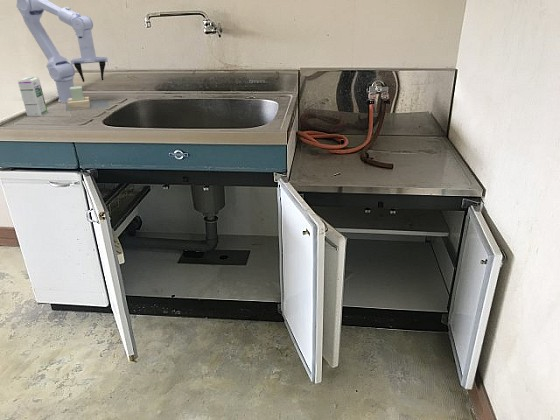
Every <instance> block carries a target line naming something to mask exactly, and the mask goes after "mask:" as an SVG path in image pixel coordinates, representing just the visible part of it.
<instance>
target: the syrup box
mask: <svg viewBox="0 0 560 420" xmlns="http://www.w3.org/2000/svg"><path fill="white" fill-rule="evenodd" d="M17 83H18V88H19V91H20V94H21V98H22V102H23V105H24V109H25V113H26V115H27V117H35V116H36V117H39V116H43V115H45V114H47V113H48V108H47V104H46V100H45V96H44V93H43V88H42V85H41V80H40V77H38V76H29V77H24V78H21V79H20V80H18V81H17Z"/></svg>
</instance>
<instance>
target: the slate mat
mask: <svg viewBox="0 0 560 420" xmlns="http://www.w3.org/2000/svg"><path fill="white" fill-rule="evenodd" d="M89 101H90V108H86V109H85V110H92V109H101V108H109V107H110V104H109V100H108V99H99V100H89ZM81 110H82V111H83V110H84V109H76V110H75V111H81ZM70 111H71V112H72V111H74V110H69V105H68V102H67V103H65V112H70Z"/></svg>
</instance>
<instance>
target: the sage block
mask: <svg viewBox="0 0 560 420" xmlns="http://www.w3.org/2000/svg"><path fill="white" fill-rule="evenodd" d="M70 91H71V96H72V100H73V101H83V100H84V97H85V96H84V91H83V86H82V85H79V86H77V85H76V86H74V87H70Z"/></svg>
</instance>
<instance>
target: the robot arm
mask: <svg viewBox="0 0 560 420" xmlns="http://www.w3.org/2000/svg"><path fill="white" fill-rule="evenodd" d="M16 8H17V9H18V11H19V13H20V15H21V16H22V18H23V22H24V23H25V25H26V27H27V29H28V31H29V32H30V34H31V35H32V37H33V38H34V40H35V42H36V43H37V45H38V47H39V48H40V49H41V51H42V53H43V54H44V56H45V57H46V60H47V64H46V68H47V70H48V72H49V73H48V75H49V76H50V77H51V79H53V81H54V82H55V86H56V90H57V91H56V92H57V95H58V101H57V102H68V99H69V98H72V96H71V91H70V87H75V83H74V79H75V78H74V77H75V75H76V71H77V72H78V74H79V77H80V78H81V81H82V82H83V83H85V77H84V73H83V69H82V64H97V63H98V65H99V70H100V78H101V81H104V71H105V68H106V63H109V61H108V56H97V55H96V51H95V45H94V39H93V34H92V30H93V28H94V22H93V20H92V18H91V17H90V16H88V15H81V13H79V12H75V11H74V10H72V9H71V8H70V7H69V6H66V7H60V6H58V5H56V4H55V3H53V2H51V1H49V0H16ZM44 11H45V12H48V13H49V14H52V15H55V16H57V17H58V20H59V21H60V22H62V23H64V24H66V25H67V26H70V27H72V29H73V30H74V32H75V35H76V37H77V42H78V46H79V51H80V52H79V53H80V56H81V58H80V57H79V58H70V61H69V60H68V59H67V58H66V57H64V56H62V55H61V54H60V52H59V51H58V49H57V48H56V47H57V46H55V44H54V43H53V41H52V39H51V37H50V36H49V35H48V32H47V31H46V29H45V28H44V26H43V24H42V22H41V21H40V19H41V18H42V16H43V13H44Z"/></svg>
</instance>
